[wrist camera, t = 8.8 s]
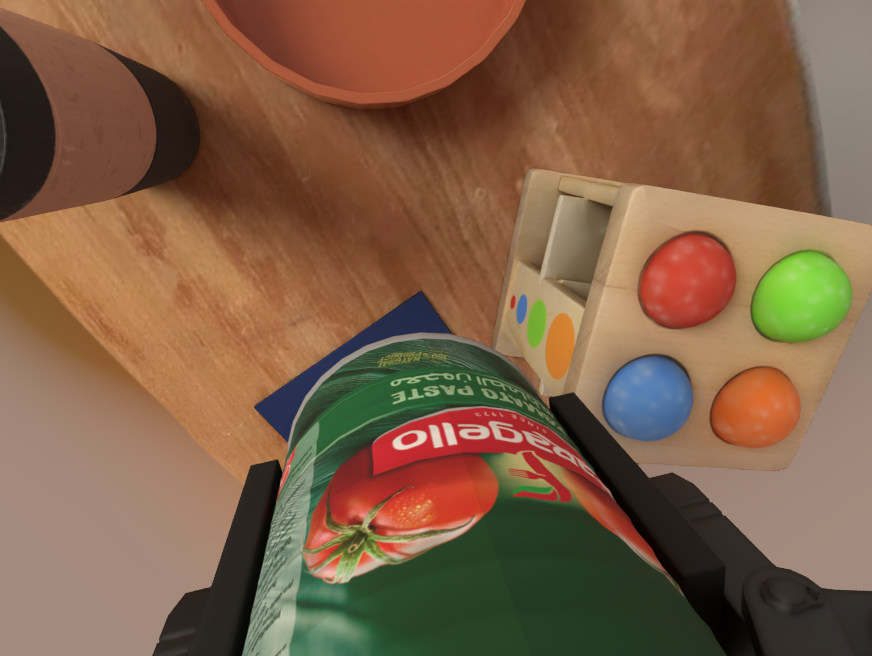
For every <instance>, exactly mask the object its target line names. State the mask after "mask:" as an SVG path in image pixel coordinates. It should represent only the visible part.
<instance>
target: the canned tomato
mask: <svg viewBox="0 0 872 656" xmlns="http://www.w3.org/2000/svg"><path fill="white" fill-rule="evenodd" d="M242 656H727V655H726V654H725V652H724V651H723V649H722V648H721V646H720V645H719V643H718V642H717V640H716V638H715V636H714V635H713V633H712V631H711V629H710V628H709V626H708V625H707V624H706V623H705V622H704V621H703V620H702V619H701V618H700V616H699V615H698V614H697V613H696V612H695V611H694V609H693V608H692V607H691V605H690V604H689V602H688V601H687V599H686V598H685V596H684V595H683V593H682V591H681V589H680V587H679V585H678V584H677V583H676V582H675V580H674V579H673V578H672V577H671V576H670V575H669V574H668V573H667V571H666V570H665V569H664V568H663V567H662V565H661V564H660V562H659V561H658V559H657V558H656V556H655V554H654V552H653V550H652V548H651V547H650V546H649V545H648V543H647V542H646V541H645V540H644V539H643V538H642V537H641V536H640V534H639V533H638V532H637V531H636V529H635V528H634V526H633V524H632V522H631V520H630V518H629V517H628V515H627V514H626V513H625V512H624V511H623V510H622V509H621V507H620V506H619V505H618V504H617V503H616V502H615V500H614V498H613V496H612V494H611V492H610V491H609V489H608V488H607V487H606V486H605V485H604V484H603V482H602V481H601V480H600V479H599V478H598V477H597V475H596V473H595V471H594V469H593V467H592V466H591V465H590V464H589V463H588V462H587V460H586V459H585V458H584V457H583V456H582V454H581V452H580V450H579V448H578V447H577V446H576V445H575V443H574V442H573V441H572V440H571V439H570V438H569V436H568V434H567V432H566V430H565V429H564V428H563V427H562V426H561V424H560V423H559V422H558V421H557V420H556V418H555V416H554V414H553V413H552V411H551V410H550V409H549V408H548V407H547V406H546V404H545V403H544V402H543V401H542V400H541V398H540V397H539V395H538V393H537V391H536V389H535V387H534V385H533V383H532V382H531V381H530V380H529V379H528V378H527V376H526V375H525V374H524V373H523V372H522V371H521V369H520V368H519V367H518V366H517V365H516V364H514V363H513V362H512V361H510V360H509V359H508V358H506V357H505V356H504V355H502V354H501V353H500V352H498V351H497V350H495V349H493V348H490V347H488V346H486V345H484V344H482V343H480V342H477V341H475V340H472V339H468V338H464V337H460V336H456V335H451V334H443V333H414V334H407V335H400V336H393V337H390V338H387V339H384V340H381V341H378V342H375V343H372V344H369V345H366V346H364V347H363V348H361V349H359V350H357V351H355V352H354V353H352V354H350V355H348V356H346V357H345V358H343V359H341V360H340V361H339V362H338V363H337V364H336V365H334V366H333V367H332V368H331V369H330V370H328V371H327V372H326V373H325V374H324V375H322V376H321V378H320V379H319V380H318V381H317V383H316V384H315V385H314V386H313V388H312V389H311V390H310V391H309V393H308V394H307V395H306V396H305V398H304V400H303V402H302V404H301V406H300V408H299V410H298V412H297V414H296V416H295V418H294V420H293V424H292V428H291V432H290V437H289V441H288V454H287V457H286V461H285V465H284V470H283V474H282V478H281V484H280V488H279V492H278V496H277V500H276V506H275V510H274V514H273V519H272V523H271V529H270V533H269V537H268V541H267V546H266V550H265V556H264V560H263V565H262V569H261V573H260V577H259V581H258V588H257V592H256V596H255V601H254V605H253V609H252V613H251V617H250V625H249V629H248V633H247V637H246V641H245V645H244V649H243V653H242Z"/></svg>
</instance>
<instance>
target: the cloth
mask: <svg viewBox="0 0 872 656" xmlns="http://www.w3.org/2000/svg"><path fill="white" fill-rule="evenodd" d="M414 333H443V334H451V332H450V331H449V330H448V328H447V327H446V325H445V324H444V323H443V321H442V320H441V319H440V317H439V316H438V314H437V313H436V312H435V310H434V309H433V307H432V306H431V305H430V303H429V302H428V300H427V299H426V298H425V296H424V295H423V294H422V292H421V291H420V292H418V293H417V294H415V295H414V296H413V297H411V298H410V299H408V300H407V301H405V302H404V303H402V304H401V305H400V306H398V307H397V308H395V309H394V310H392V311H391V312H389V313H388V314H387V315H385V316H384V317H382V318H381V319H379V320H378V321H376V322H375V323H374V324H372V325H371V326H369V327H368V328H366V329H365V330H363V331H362V332H361V333H359V334H358V335H356V336H355V337H353V338H352V339H351V340H349V341H348V342H346V343H345V344H343V345H342V346H340V347H339V348H338V349H336V350H335V351H333V352H332V353H330V354H329V355H327V356H326V357H325V358H323V359H322V360H320V361H319V362H317V363H316V364H314V365H313V366H312V367H310V368H309V369H307V370H306V371H304V372H303V373H301V374H300V375H299V376H297V377H296V378H294V379H293V380H291V381H290V382H289V383H287V384H286V385H284V386H283V387H281V388H280V389H278V390H277V391H276V392H274V393H273V394H271V395H270V396H268V397H267V398H265V399H264V400H263V401H261V402H260V403H258V404H257V405H255V407H254V408H255V409H256V410H257V411H258V412H259V413H260V414H261V415H262V416H263V417H264V418H265V419H266V420H267V422H268V423H269V424H270V425H271V426H272V427H273V428H274V429H275V430H276V431H277V432H278V433H279V434H280V435H281V436H282V437H283V438H284V439H285V440H286V441H287V442H288V441H289V437H290V432H291V428H292V424H293V420H294V418H295V416H296V414H297V412H298V410H299V408H300V406H301V404H302V402H303V400H304V398H305V396H306V395H307V394H308V393H309V391H310V390H311V389H312V388H313V386H314V385H315V384H316V383H317V381H318V380H319V379H320V378H321V376H322V375H324V374H325V373H326V372H327V371H328V370H330V369H331V368H332V367H333V366H334V365H336V364H337V363H338V362H339V361H340V360H341V359H343V358H345V357H346V356H348V355H350V354H352V353H354V352H355V351H357V350H359V349H361V348H363V347H364V346H366V345H369V344H372V343H375V342H378V341H381V340H384V339H387V338H390V337H393V336H400V335H407V334H414ZM451 335H452V334H451Z"/></svg>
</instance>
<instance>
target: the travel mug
mask: <svg viewBox="0 0 872 656" xmlns="http://www.w3.org/2000/svg"><path fill="white" fill-rule="evenodd" d="M199 140H200V132H199V124H198V120H197V116H196V114H195V111H194V109H193V107H192V105H191V103H190V101H189V100H188V98H187V97H186V95H185V94H184V93H183V92H182V91H181V89H180V88H179V87H178V86H177V85H176V84H175V83H173V82H172V81H171V80H170V79H168V78H167V77H165V76H164V75H162V74H160V73H159V72H157V71H155V70H153V69H151V68H149V67H147V66H144V65H142V64H140V63H138V62H136V61H133V60H131V59H129V58H127V57H125V56H122V55H120V54H118V53H116V52H114V51H111V50H109V49H107V48H105V47H103V46H100V45H98V44H96V43H94V42H91V41H89V40H87V39H85V38H82V37H80V36H77V35H74V34H71V33H69V32H66V31H63V30H60V29H58V28H55V27H52V26H49V25H47V24H44V23H41V22H38V21H35V20H33V19H30V18H27V17H24V16H22V15H19V14H16V13H13V12H11V11H8V10H5V9H2V8H0V222H4V221H9V220H14V219H19V218H24V217H29V216H34V215H38V214H43V213H48V212H53V211H58V210H63V209H68V208H73V207H78V206H82V205H87V204H92V203H97V202H102V201H106V200H110V199H113V198H117V197H120V196H124V195H127V194H130V193H133V192H137V191H140V190H143V189H147V188H150V187H153V186H156V185H160V184H163V183H165V182H168V181H170V180H173V179H175V178H176V177H178V176H180V175H181V174H182V173H183V172H185V171H186V170H187V169H188V167H189V166H190V165H191V163H192V162H193V160H194V158H195V156H196V154H197V150H198V147H199Z"/></svg>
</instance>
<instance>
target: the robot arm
mask: <svg viewBox="0 0 872 656" xmlns="http://www.w3.org/2000/svg"><path fill="white" fill-rule="evenodd" d="M549 404H550V410H551V411H552V413H553V414H554V416H555V418H556V420H557V421H558V422H559V423H560V424H561V426H562V427H563V428H564V429H565V430H566V432H567V434H568V436H569V438H570V439H571V440H572V441H573V442H574V443H575V445H576V446H577V447H578V448H579V450H580V452H581V454H582V456H583V457H584V458H585V459H586V460H587V462H588V463H589V464H590V465H591V466H592V467H593V469H594V471H595V473H596V475H597V477H598V478H599V479H600V480H601V481H602V482H603V484H604V485H605V486H606V487H607V488H608V489H609V491H610V492H611V494H612V496H613V498H614V500H615V502H616V503H617V504H618V505H619V506H620V507H621V509H622V510H623V511H624V512H625V513H626V514H627V515H628V517H629V518H630V520H631V522H632V524H633V526H634V528H635V529H636V531H637V532H638V533H639V534H640V536H641V537H642V538H643V539H644V540H645V541H646V542H647V543H648V545H649V546H650V547H651V548H652V550H653V552H654V554H655V556H656V558H657V559H658V561H659V562H660V564H661V565H662V567H663V568H664V569H665V570H666V571H667V573H668V574H669V575H670V576H671V577H672V578H673V579H674V580H675V582H676V583H677V584H678V585H679V587H680V589H681V591H682V593H683V595H684V596H685V598H686V599H687V601H688V602H689V604H690V605H691V607H692V608H693V609H694V611H695V612H696V613H697V614H698V615H699V616H700V618H701V619H702V620H703V621H704V622H705V623H706V624H707V625H708V626H709V628H710V629H711V631H712V633H713V635H714V636H715V638H716V640H717V642H718V643H719V645H720V646H721V648H722V649H723V651H724V652H725V654H726V655H727V656H872V591H854V590H853V591H852V590H833V589H825V588H821V587H819V586H818V585H817V584H815V583H814V582H813V581H811V580H810V579H809V578H807V577H805V576H803V575H801V574H799V573H797V572H794V571H792V570H789V569H784V568H779V567H776V566H775V565H774V564H773V563H771V562H770V561H769V560H768V558H767V557H766V556H765V555H764V554H763V553H762V552H761V551H759V549H758V548H757V547H756V546H755V545H754V544H753V543H752V542H751V541H750V540H749V539H748V538H747V537H746V536H745V535H744V534H743V533H742V532H741V531H740V530H739V529H738V528H737V527H736V526H735V525H734V524H733V523H732V522H731V521H730V520H729V519H728V518H727V517H726V516H723V515H722V512H721V511H720V510H719V509H718V508H717V507H716V506H715V505H714V504H713V503H710V501H709V499H708V498H707V497H706V496H705V495H704V494H703V493H702V492H701V491H700V490H699V489H698V488H697V487H696V486H695V485H694V484H693V483H691V482H689V481H687V480H685V479H683V478H681V477H680V476H678V475H676V474H674V473H669V474H664V475H661V476H656V477H652V478H648V477H647V475H646V474H645V473H644V472H643V471H642V470H641V468H640V467H639V466H638V465H637V464H636V463H635V462H634V460H633V459H632V458H631V457H630V456H629V455H628V454H627V452H626V451H625V450H624V449H623V448H622V447H621V446H620V444H619V443H618V442H617V441H616V440H615V439H614V437H613V436H612V435H611V434H610V433H609V432H608V431H607V429H606V428H605V427H604V426H603V425H602V424H601V423H600V421H599V420H598V419H597V418H596V417H595V416H594V415H593V413H592V412H591V411H590V410H589V409H588V408H587V407H586V405H585V404H584V403H583V402H582V401H581V400H580V399H579V397H578V396H577V395H576V394H575V393H574V392H572V393H567V394H563V395H559V396H554V397H550V398H549ZM282 474H283V473H282V470H281V467H280V464H279V461H278V460H274V461H269V462H265V463H260V464H256V465H252V466H250V469H249V473H248V476H247V479H246V482H245V485H244V488H243V491H242V494H241V497H240V500H239V503H238V507H237V510H236V513H235V516H234V519H233V522H232V525H231V528H230V531H229V534H228V537H227V540H226V543H225V546H224V549H223V552H222V555H221V559H220V562H219V565H218V568H217V571H216V574H215V577H214V580H213V583H212V586H211V587H209V588H205V589H201V590H197V591H193V592H189V593H185V595H184V596H183V597H182V598H181V600H180V601H179V602H178V604H177V605H176V606H175V607H174V609H173V610H172V612H171V613H170V614H169V615H168V618H167V620H166V623H165V625H164V628H163V630H162V633H161V635H160V638H159V643H157V645H156V648H155V650H154V653H153V655H152V656H242V653H243V649H244V645H245V641H246V637H247V633H248V629H249V625H250V617H251V613H252V609H253V605H254V601H255V596H256V592H257V588H258V581H259V577H260V573H261V569H262V565H263V560H264V556H265V550H266V546H267V541H268V537H269V533H270V529H271V523H272V519H273V514H274V510H275V506H276V500H277V496H278V492H279V488H280V484H281V478H282Z"/></svg>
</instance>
